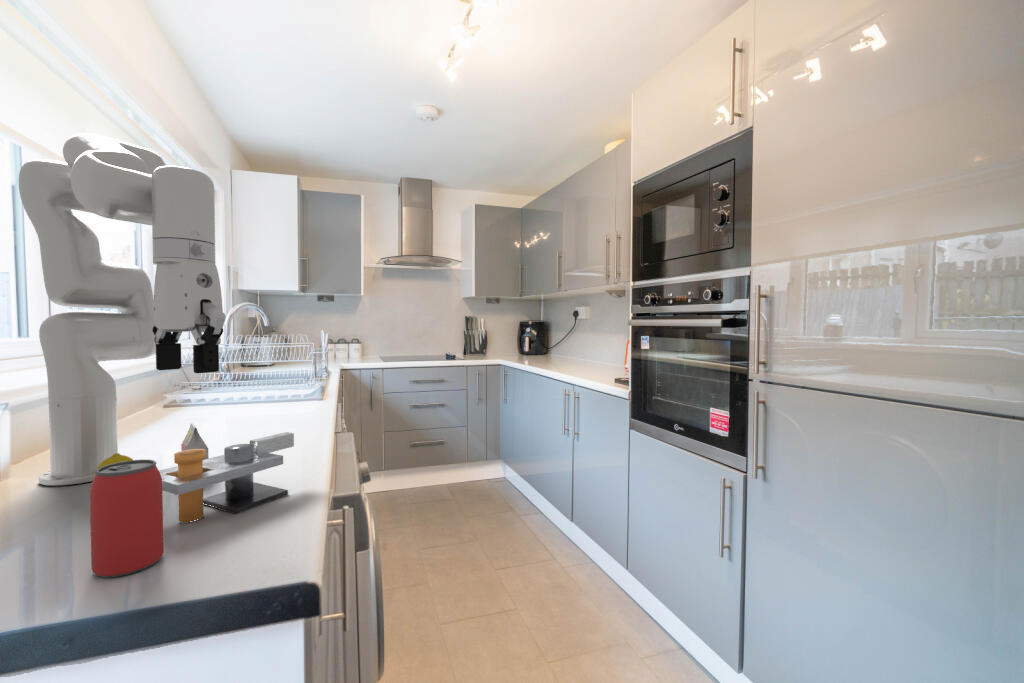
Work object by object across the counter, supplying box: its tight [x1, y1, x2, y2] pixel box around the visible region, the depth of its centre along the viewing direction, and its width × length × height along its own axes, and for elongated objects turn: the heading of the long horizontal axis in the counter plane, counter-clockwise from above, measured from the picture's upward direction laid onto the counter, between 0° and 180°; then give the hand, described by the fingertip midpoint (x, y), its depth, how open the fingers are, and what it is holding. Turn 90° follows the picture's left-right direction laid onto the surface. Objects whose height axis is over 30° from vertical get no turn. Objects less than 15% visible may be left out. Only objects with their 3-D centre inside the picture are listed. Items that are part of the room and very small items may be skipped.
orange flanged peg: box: [173, 449, 206, 523], centre depth 68 cm, size 4×4×10 cm
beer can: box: [89, 459, 165, 578], centre depth 54 cm, size 7×7×12 cm
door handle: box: [159, 431, 295, 515], centre depth 73 cm, size 10×21×9 cm, turn 153°
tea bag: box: [180, 422, 210, 459], centre depth 87 cm, size 4×7×10 cm, turn 40°
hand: (187, 370), depth 67 cm, fingers open, 9 cm apart
